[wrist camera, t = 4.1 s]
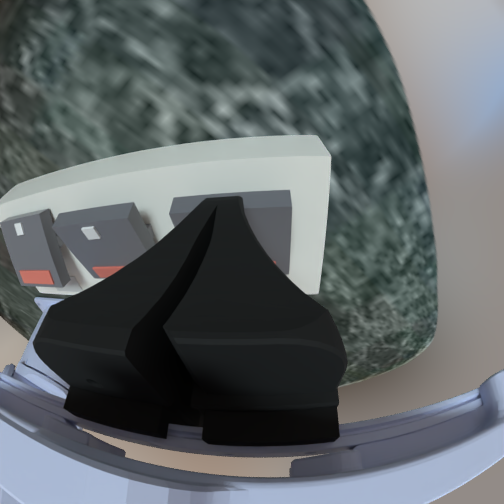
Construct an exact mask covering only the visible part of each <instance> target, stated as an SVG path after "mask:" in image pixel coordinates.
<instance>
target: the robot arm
mask: <svg viewBox="0 0 504 504" xmlns="http://www.w3.org/2000/svg"><path fill="white" fill-rule="evenodd" d="M34 300H35V302H36V304H37V305H38V306H39V308H40V309H41V310H42V311H43V314H42V316H41V318H40V320H39V322H38V324H37V326H36V328H35V330H34V332H33V334H32V336H31V338H30V340H29V342H28V344H27V346H26V349H25V351H24V353H23V356H22V358H21V360H20V362H19V363H18V365H17V367H16V370H14V369H15V365H13V364H10V365H6V367H5V368H4V370H3V372H0V504H428V503H430V502H432V501H434V500H436V499H438V498H440V497H442V496H444V495H446V494H447V493H449V492H451V491H453V490H455V489H456V488H458V487H460V486H461V485H463V484H465V483H466V482H468V481H470V480H471V479H473V478H474V477H476V476H478V475H479V474H481V473H482V472H483V471H485V470H486V469H488V468H489V467H491V466H492V465H493V464H495V463H496V462H498V461H499V460H500V459H502V458H503V457H504V369H503V370H501V371H499V372H497V373H495V374H494V375H492V376H491V377H489V378H488V379H487V380H486V381H485V382H484V383H482V385H480V387H479V388H477V389H474V390H472V391H469V392H467V393H464V394H461V395H459V396H456V397H453V398H450V399H447V400H445V401H441V402H438V403H435V404H432V405H428V406H425V407H422V408H418V409H414V410H411V411H407V412H403V413H399V414H394V415H390V416H386V417H380V418H376V419H370V420H365V421H359V422H353V423H346V424H339V423H338V413H337V406H338V405H339V398H338V389H337V388H338V386H339V384H340V381H341V379H342V377H343V375H344V373H345V371H346V368H347V362H348V361H347V356H346V351H345V348H344V345H343V342H342V339H341V336H340V334H339V331H338V329H337V327H336V325H335V323H334V321H333V319H332V317H331V315H330V313H329V311H328V310H327V309H325V308H324V307H323V306H321V305H320V304H319V303H317V302H316V301H314V300H313V299H312V298H310V297H309V296H308V295H307V294H305V293H304V292H303V291H302V290H301V289H300V288H299V287H298V286H296V285H295V284H294V283H293V282H292V281H291V280H290V279H289V278H288V277H287V276H286V275H285V274H284V273H283V272H282V271H281V270H280V269H279V267H278V266H277V265H276V264H275V263H274V262H273V261H272V259H271V258H270V257H269V256H268V254H267V253H266V252H265V250H264V249H263V247H262V246H261V244H260V243H259V241H258V240H257V238H256V236H255V234H254V233H253V231H252V229H251V227H250V225H249V223H248V220H247V218H246V216H245V213H244V204H243V198H242V197H241V196H227V197H213V198H205V199H204V200H203V201H202V202H201V203H200V204H199V205H198V206H197V207H196V208H195V209H194V210H193V211H191V212H190V213H189V214H188V215H187V216H186V217H185V218H184V219H183V220H182V221H181V222H180V223H179V224H178V225H177V226H176V227H175V228H173V229H172V230H171V231H170V232H169V233H168V234H167V235H166V236H164V237H163V238H162V239H161V240H160V241H159V242H158V243H156V244H155V245H154V246H153V247H151V248H150V249H149V250H147V251H146V252H145V253H143V254H142V255H141V256H139V257H138V258H137V259H135V260H134V261H132V262H131V263H129V264H128V265H126V266H125V267H123V268H121V269H120V270H118V271H117V272H115V273H114V274H112V275H111V276H109V277H107V278H105V279H104V280H102V281H100V282H99V283H97V284H95V285H93V286H91V287H89V288H87V289H85V290H84V291H82V292H80V293H77V294H75V295H73V296H71V297H69V298H67V299H54V298H42V297H36V298H35V299H34ZM83 428H84V429H87V430H91V431H94V432H97V433H100V434H103V435H106V436H110V437H113V438H117V439H121V440H125V441H128V442H133V443H137V444H142V445H146V446H151V447H156V448H161V449H167V450H173V451H179V452H186V453H194V454H203V455H215V456H228V457H293V456H308V455H318V454H324V455H319V456H313V457H307V458H301V459H295V460H293V461H292V462H291V468H290V477H277V478H276V477H275V478H274V477H272V478H267V477H238V476H225V475H215V474H206V473H198V472H191V471H185V470H179V469H174V468H168V467H163V466H158V465H154V464H149V463H145V462H141V461H137V460H133V459H130V458H126V457H125V453H126V452H125V451H124V450H122V449H120V448H117V447H115V446H112V445H110V444H108V443H106V442H104V441H102V440H100V439H98V438H96V437H94V436H93V435H91V434H89V433H87V432H85V431H82V429H83ZM327 453H329V454H327Z"/></svg>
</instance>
